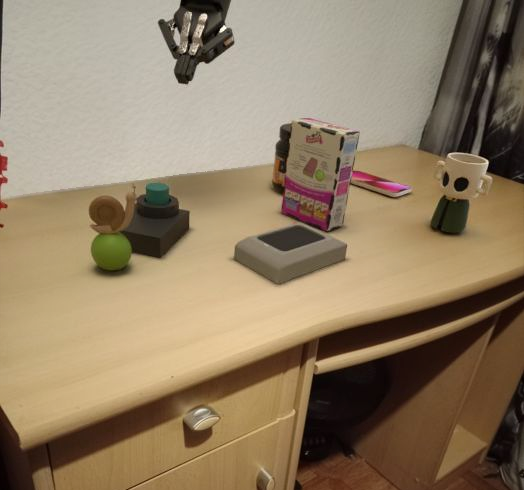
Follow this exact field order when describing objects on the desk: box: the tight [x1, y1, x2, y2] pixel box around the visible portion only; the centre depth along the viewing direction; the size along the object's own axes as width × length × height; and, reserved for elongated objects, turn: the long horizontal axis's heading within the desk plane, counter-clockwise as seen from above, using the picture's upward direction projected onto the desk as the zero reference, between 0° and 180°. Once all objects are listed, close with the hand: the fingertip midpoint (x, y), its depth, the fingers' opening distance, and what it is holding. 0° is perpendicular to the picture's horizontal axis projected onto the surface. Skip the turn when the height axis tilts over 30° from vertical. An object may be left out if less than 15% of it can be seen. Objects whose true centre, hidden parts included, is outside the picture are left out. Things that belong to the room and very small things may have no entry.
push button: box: [145, 182, 170, 205], centre depth 85 cm, size 4×4×3 cm
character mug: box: [430, 152, 493, 234], centre depth 97 cm, size 11×7×13 cm, turn 42°
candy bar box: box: [280, 117, 361, 232], centre depth 94 cm, size 11×5×16 cm, turn 47°
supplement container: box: [271, 122, 291, 195], centre depth 108 cm, size 10×10×12 cm
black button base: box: [119, 193, 191, 259], centre depth 85 cm, size 13×9×5 cm
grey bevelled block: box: [233, 221, 348, 285], centre depth 83 cm, size 10×4×15 cm
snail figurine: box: [88, 182, 138, 271], centre depth 73 cm, size 5×6×12 cm
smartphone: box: [350, 170, 412, 198], centre depth 118 cm, size 7×1×15 cm
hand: (181, 80), depth 85 cm, fingers closed
